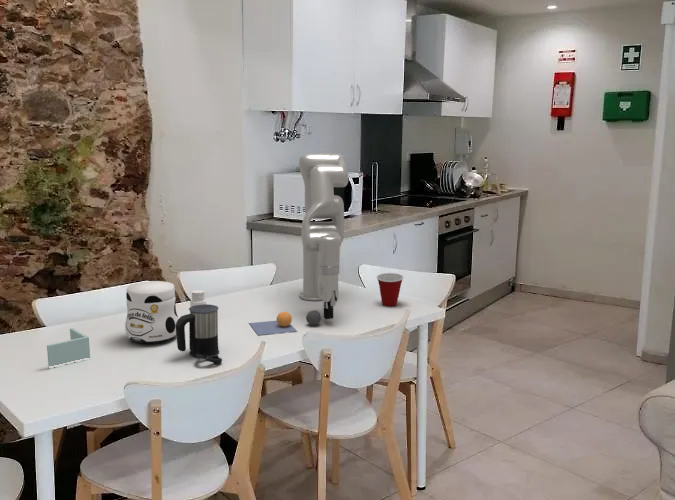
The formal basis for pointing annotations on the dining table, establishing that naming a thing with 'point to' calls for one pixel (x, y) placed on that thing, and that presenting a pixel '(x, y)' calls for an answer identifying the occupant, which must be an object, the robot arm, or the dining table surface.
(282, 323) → the orange ball
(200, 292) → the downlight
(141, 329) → the milk container
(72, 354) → the right angle wall
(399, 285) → the plastic cup
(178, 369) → the dining table surface
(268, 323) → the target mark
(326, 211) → the robot arm
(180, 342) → the milk frother
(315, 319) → the gray ball
